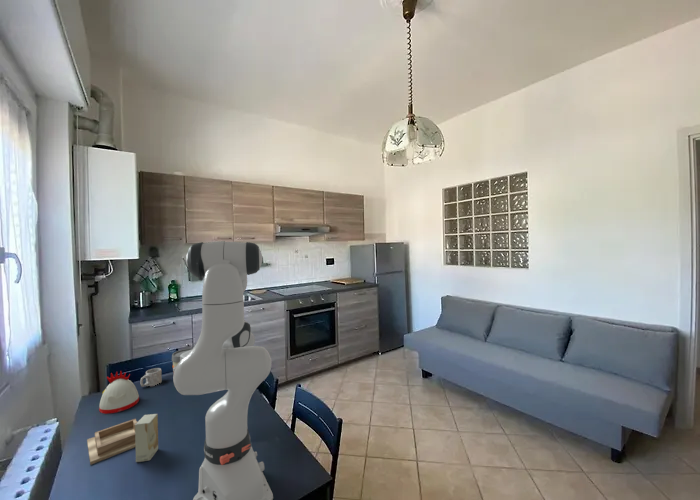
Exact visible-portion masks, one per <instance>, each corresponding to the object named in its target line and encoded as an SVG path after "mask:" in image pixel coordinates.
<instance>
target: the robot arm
mask: <svg viewBox="0 0 700 500" xmlns="http://www.w3.org/2000/svg"><path fill="white" fill-rule="evenodd" d="M185 262H186V263H185V264H186V266H187V268H188V272H189V273H190V274H191V275H192V276H193V277H196V278H198V280H199V281H200V282H202V283H203V285H202V291H201V292H202V293H201V294H202V297H201V301H202V302H201V304H202V306H201V309H202V310H201V312H202V316H201V317H202V318H201V319H202V320H201V329H200V334H199V337H198V339H197V341H196V343H195V345H194V346H193V347H192V348H191V349H192V350H189V351H187V352H184V353H182V354H181V355H180V362H179V363H178V365H177V366H176V367H174V368H173V367H172V372H173V376H172V378H173V379H172V380H173V386H174V387H175V389H176V391H177V392H178V393H179V394H180V395H183V396H200V395H205V394H207V395H208V394H211V393H216V392H220V391H226V393H225V394H224V395H223V396H222V397H220V398H219V399H217V400H216V401H215V402H213V404H212V405H211V406H210V407H209V408H208V410H207V411H206V414H205V417H204V419H205V420H204V421H205V439H204V443H203V451H204V452H203V453H204V459H203V461H202V463H201V465H200V467H199V470H198V490H197V491H198V492H197V493H196V494H195V495H194V497H193V499H192V500H273V499H274V494H273V492H272V490H271V487H270V485H269V483H268V482H267V479H266V476H265V475H264V472H263V471H265V462H264V461H259V462H258V460H257V457H258V452H257V451H254V449H253V446H252V441H251V435H250V432H249V429H248V412H249V404H250V401H251V398H252V396H253V394H254V393H255V391H256V390H257V388H258V387H259V386H260V385H261V383H263V382H264V381H265V380H266V379H267V377H269V375H270V373H271V370H272V363H273V362H272V357H271V354H270V352H269V351H268V349H267V348H266V347H264V346H259V345H258V346H257V345H255V343H256V338H255V335H254V333H253V332H252V330H251V329H252V327H251V325H250V323H249V322H248V321H247V320H245V305H244V304H245V303H244V302H245V299H244V298H245V297H244V292H245V291H246V290H247V286H248V275H253V274H256V273H258V271H260V268H261V266H262V263H263V253H262V250H261V249H260V246H259V245H258V244H257V243H255V242H250V241H246V242H241V241H239V242H238V241H225V240H224V241H223V240H222V241H211V242H197V243H194V244H191V245H190V246H189V248H188V250H187V252H186V257H185Z"/></svg>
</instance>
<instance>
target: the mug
mask: <svg viewBox="0 0 700 500" xmlns="http://www.w3.org/2000/svg"><path fill="white" fill-rule="evenodd" d="M144 380H145V383H144ZM162 380H163V379H162V368H161V367H155V368H151V369H148V370H146V371H145V374H144V375H143V376H142V377H141V378H140V382H139V383H140V387H142V388H143V387H148V386H150V387H156V386H158V385H160V384H161V383H162ZM159 383H160V384H159ZM157 384H158V385H157ZM155 385H156V386H155Z"/></svg>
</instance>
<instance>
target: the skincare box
mask: <svg viewBox="0 0 700 500" xmlns="http://www.w3.org/2000/svg"><path fill="white" fill-rule="evenodd" d="M158 415H159V414H158V413H151V414H150V413H149V414H144V415H143V416H142V417H141V418H140V419H139V420H138V421H137V423H136V424H135V446H136V447H135V463H141V462H147V461H151V460H152V458H153V457H154V456H155V454H156V453H157V451H158V450H159V428H158V427H159V421H158Z"/></svg>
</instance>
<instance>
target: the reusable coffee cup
mask: <svg viewBox="0 0 700 500" xmlns="http://www.w3.org/2000/svg"><path fill="white" fill-rule="evenodd" d="M192 349H193V348H184V349H180V350H177V351H175V352H173V353H172V355H171V361H172V369H173V368H174V367H176V366H177V365H178V363H179V362H180V355H181V354H182V353H184V352H187V351H189V350H192Z"/></svg>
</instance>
